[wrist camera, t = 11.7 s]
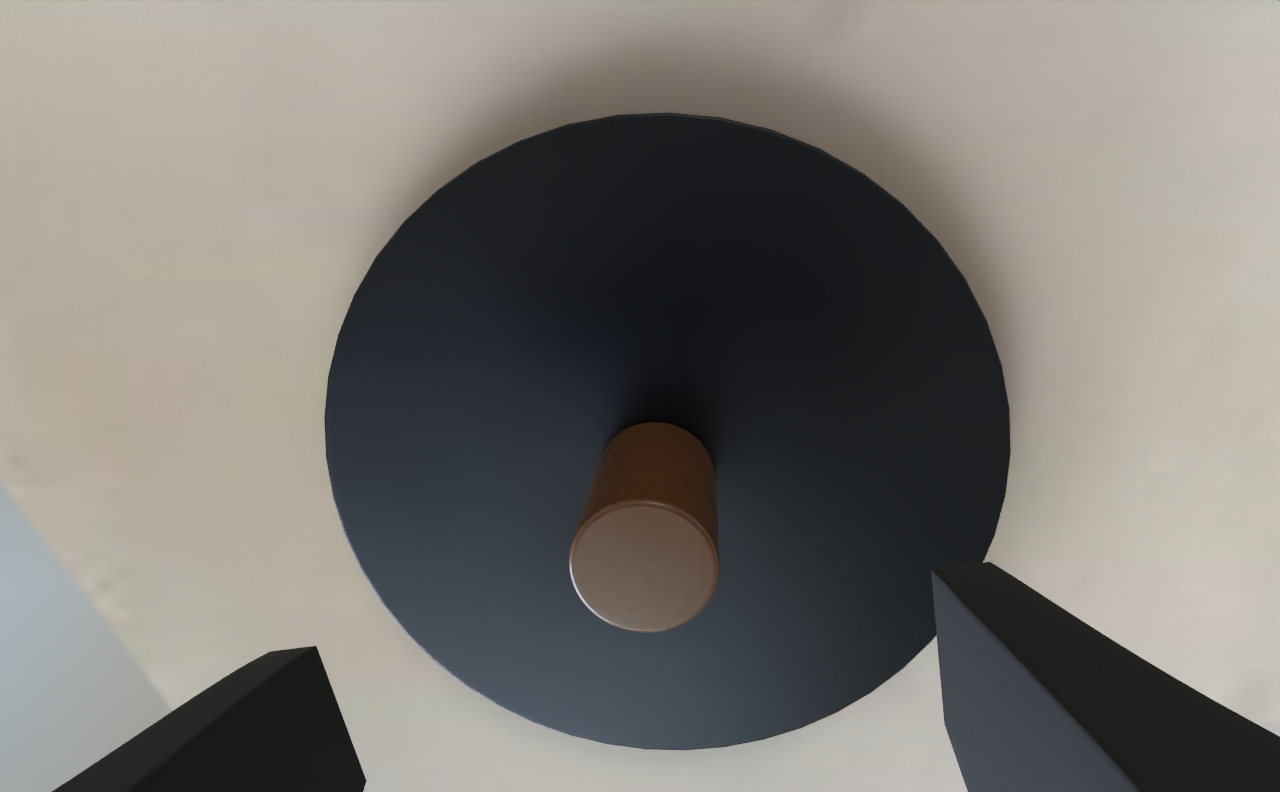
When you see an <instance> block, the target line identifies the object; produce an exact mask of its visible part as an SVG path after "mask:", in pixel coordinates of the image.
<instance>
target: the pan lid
mask: <svg viewBox="0 0 1280 792" xmlns="http://www.w3.org/2000/svg"><path fill="white" fill-rule="evenodd" d="M325 439H326V459H327V464H328V470H329V475H330V481H331V487H332V492H333V497H334V500H335V504H336V507H337V510H338V513H339V516H340V519H341V522H342V526H343V529H344V532H345V535H346V537H347V539H348V541H349V543H350V546H351V548H352V550H353V552H354V554H355V556H356V558H357V561H358V563H359V565H360V567H361V569H362V571H363V573H364V574H365V576H366V577H367V579H368V581H369V582H370V584H371V585H372V587H373V589H374V590H375V592H376V593H377V595H378V597H379V598H380V600H381V601H382V603H383V604H384V606H385V607H386V608H387V609H388V610H389V612H390V613H391V614H392V615H393V617H394V618H395V619H396V620H397V622H398V623H399V624H400V625H401V627H402V628H403V629H404V630H405V632H406V633H407V634H408V635H409V636H410V637H411V638H412V639H413V640H414V641H415V642H416V643H417V644H418V645H419V646H420V647H421V648H422V649H423V650H424V651H425V652H426V653H427V654H428V655H429V656H430V657H431V658H432V659H433V660H434V661H436V662H437V663H438V664H439V665H441V666H442V667H443V668H445V669H446V670H447V671H448V672H450V673H451V674H452V675H454V676H455V677H456V678H457V679H459V680H460V681H461V682H462V683H464V684H465V685H467V686H468V687H470V688H471V689H473V690H475V691H476V692H478V693H479V694H481V695H483V696H484V697H486V698H488V699H489V700H491V701H492V702H494V703H496V704H497V705H499V706H501V707H503V708H505V709H507V710H509V711H512V712H514V713H516V714H518V715H520V716H522V717H524V718H526V719H528V720H530V721H532V722H535V723H538V724H541V725H543V726H546V727H549V728H552V729H555V730H557V731H560V732H563V733H566V734H569V735H572V736H576V737H581V738H585V739H589V740H593V741H597V742H601V743H606V744H612V745H619V746H627V747H634V748H642V749H663V750H693V749H705V748H717V747H727V746H732V745H737V744H742V743H748V742H753V741H758V740H763V739H766V738H770V737H773V736H776V735H780V734H783V733H786V732H789V731H793V730H796V729H799V728H802V727H804V726H806V725H809V724H811V723H813V722H816V721H818V720H820V719H822V718H825V717H827V716H829V715H832V714H834V713H836V712H838V711H840V710H842V709H843V708H845V707H847V706H848V705H850V704H852V703H854V702H855V701H857V700H859V699H861V698H862V697H864V696H866V695H867V694H869V693H871V692H872V691H874V690H875V689H876V688H878V687H879V686H880V685H882V684H883V683H884V682H886V681H887V680H888V679H890V678H891V677H892V676H893V675H895V674H896V673H897V672H899V671H900V670H901V669H903V668H904V667H905V666H906V665H907V664H908V663H909V662H910V661H911V660H912V659H913V658H914V657H915V656H916V655H917V654H918V653H919V652H920V651H921V650H922V649H923V648H925V647H926V646H927V645H928V644H929V643H930V642H931V641H932V640H933V638H934V637H935V636H936V635H937V631H936V619H935V608H934V597H933V585H932V574H931V569H937V568H945V567H953V566H961V565H969V564H977V563H983V561H984V559H985V556H986V554H987V552H988V549H989V547H990V545H991V542H992V540H993V538H994V535H995V532H996V528H997V524H998V520H999V517H1000V513H1001V509H1002V506H1003V502H1004V498H1005V494H1006V485H1007V477H1008V469H1009V460H1010V415H1009V404H1008V398H1007V392H1006V387H1005V381H1004V375H1003V370H1002V364H1001V361H1000V358H999V355H998V352H997V349H996V346H995V343H994V340H993V337H992V334H991V331H990V329H989V326H988V323H987V320H986V318H985V316H984V314H983V312H982V310H981V308H980V306H979V304H978V302H977V300H976V299H975V297H974V295H973V293H972V291H971V289H970V287H969V285H968V283H967V281H966V279H965V278H964V276H963V275H962V273H961V272H960V271H959V269H958V268H957V266H956V265H955V264H954V262H953V261H952V259H951V258H950V257H949V255H948V254H947V252H946V251H945V250H944V248H943V247H942V245H941V244H940V243H939V241H938V240H937V239H936V238H935V237H934V236H933V235H932V234H931V233H930V232H929V231H928V229H927V228H926V227H925V226H924V225H923V224H922V223H921V222H920V221H919V220H918V219H917V218H916V217H915V216H914V215H913V214H912V213H911V212H910V211H909V210H908V209H907V208H906V207H905V206H904V205H903V204H902V203H901V202H900V201H898V200H897V199H896V198H894V197H893V196H892V195H891V194H889V193H888V192H887V191H885V190H884V189H883V188H882V187H880V186H879V185H878V184H876V183H875V182H874V181H872V180H871V179H870V178H869V177H867V176H866V175H865V174H863V173H862V172H860V171H858V170H856V169H855V168H853V167H851V166H849V165H848V164H846V163H844V162H842V161H840V160H839V159H837V158H835V157H833V156H832V155H830V154H828V153H826V152H825V151H823V150H821V149H819V148H817V147H814V146H812V145H809V144H807V143H804V142H802V141H799V140H796V139H794V138H791V137H789V136H786V135H784V134H781V133H779V132H776V131H774V130H771V129H767V128H763V127H758V126H754V125H750V124H746V123H742V122H737V121H733V120H729V119H725V118H721V117H710V116H700V115H689V114H679V113H649V114H627V115H615V116H609V117H604V118H599V119H593V120H588V121H583V122H577V123H572V124H567V125H564V126H561V127H558V128H555V129H552V130H549V131H547V132H544V133H541V134H538V135H535V136H532V137H529V138H526V139H523V140H520V141H518V142H516V143H514V144H512V145H510V146H508V147H506V148H504V149H502V150H500V151H498V152H496V153H494V154H492V155H490V156H489V157H487V158H485V159H483V160H481V161H479V162H477V163H475V164H474V165H472V166H471V167H470V168H468V169H467V170H465V171H464V172H462V173H461V174H460V175H458V176H457V177H455V178H454V179H453V180H451V181H450V182H448V183H447V184H445V185H444V186H443V187H441V188H440V189H438V190H437V191H436V192H435V193H434V194H433V195H432V196H431V197H430V198H429V199H428V200H427V201H425V202H424V203H423V204H422V205H421V206H420V207H419V208H418V209H417V210H416V211H415V212H414V213H413V214H412V215H411V216H410V217H408V218H407V219H406V220H405V221H404V222H403V224H402V225H401V226H400V228H399V229H398V230H397V231H396V233H395V234H394V235H393V236H392V238H391V239H390V240H389V241H388V243H387V244H386V245H385V246H384V248H383V249H382V250H381V252H380V253H379V254H378V255H377V257H376V258H375V260H374V262H373V263H372V265H371V267H370V269H369V270H368V272H367V274H366V276H365V277H364V279H363V281H362V282H361V284H360V286H359V288H358V289H357V291H356V293H355V295H354V297H353V299H352V302H351V304H350V307H349V309H348V312H347V314H346V317H345V319H344V322H343V324H342V327H341V329H340V332H339V334H338V339H337V343H336V347H335V351H334V355H333V359H332V363H331V368H330V372H329V376H328V386H327V397H326V407H325Z"/></svg>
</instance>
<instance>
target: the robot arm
mask: <svg viewBox="0 0 1280 792" xmlns="http://www.w3.org/2000/svg"><path fill="white" fill-rule="evenodd" d="M931 574H932V585H933V597H934V608H935V619H936V631H937V642H938V653H939V665H940V676H941V688H942V699H943V710H944V722H945V726H946V729H947V732H948V735H949V738H950V741H951V744H952V747H953V750H954V752H955V755H956V758H957V761H958V764H959V767H960V770H961V773H962V776H963V779H964V781H965V784H966V787H967V790H968V792H1280V737H1279V736H1277V735H1275V734H1274V733H1272V732H1270V731H1268V730H1266V729H1264V728H1263V727H1261V726H1259V725H1257V724H1255V723H1254V722H1252V721H1250V720H1248V719H1246V718H1244V717H1243V716H1241V715H1239V714H1237V713H1235V712H1233V711H1232V710H1230V709H1228V708H1226V707H1224V706H1223V705H1221V704H1219V703H1217V702H1215V701H1213V700H1212V699H1210V698H1208V697H1206V696H1205V695H1203V694H1201V693H1200V692H1198V691H1196V690H1194V689H1193V688H1191V687H1189V686H1187V685H1186V684H1184V683H1182V682H1181V681H1179V680H1177V679H1175V678H1174V677H1172V676H1170V675H1169V674H1167V673H1165V672H1164V671H1162V670H1160V669H1159V668H1157V667H1155V666H1154V665H1152V664H1150V663H1149V662H1147V661H1145V660H1144V659H1142V658H1140V657H1139V656H1137V655H1135V654H1134V653H1132V652H1131V651H1129V650H1127V649H1126V648H1124V647H1122V646H1121V645H1119V644H1118V643H1116V642H1114V641H1113V640H1111V639H1110V638H1108V637H1106V636H1105V635H1103V634H1102V633H1100V632H1098V631H1097V630H1095V629H1094V628H1092V627H1091V626H1089V625H1087V624H1086V623H1084V622H1083V621H1081V620H1080V619H1078V618H1076V617H1075V616H1073V615H1072V614H1070V613H1069V612H1067V611H1066V610H1064V609H1063V608H1061V607H1059V606H1058V605H1056V604H1055V603H1053V602H1052V601H1050V600H1049V599H1047V598H1046V597H1044V596H1042V595H1041V594H1039V593H1038V592H1036V591H1035V590H1033V589H1032V588H1030V587H1029V586H1027V585H1026V584H1024V583H1023V582H1021V581H1019V580H1018V579H1016V578H1015V577H1013V576H1012V575H1010V574H1009V573H1007V572H1005V571H1004V570H1002V569H1001V568H999V567H997V566H996V565H994V564H992V563H991V562H986V563H977V564H969V565H961V566H953V567H945V568H937V569H931ZM365 784H366V779H365V776H364V774H363V771H362V768H361V765H360V763H359V760H358V757H357V755H356V752H355V749H354V747H353V744H352V741H351V739H350V736H349V733H348V730H347V728H346V725H345V722H344V720H343V717H342V714H341V712H340V709H339V706H338V703H337V701H336V698H335V695H334V693H333V690H332V687H331V685H330V682H329V679H328V677H327V674H326V671H325V668H324V666H323V663H322V660H321V658H320V655H319V652H318V650H317V647H316V646H312V647H304V648H296V649H288V650H280V651H272V652H269V653H267V654H265V655H263V656H261V657H259V658H257V659H255V660H254V661H252V662H250V663H248V664H246V665H245V666H243V667H241V668H240V669H238V670H236V671H235V672H233V673H231V674H230V675H228V676H226V677H225V678H223V679H222V680H220V681H218V682H217V683H215V684H214V685H212V686H211V687H209V688H207V689H206V690H204V691H203V692H201V693H200V694H198V695H197V696H195V697H194V698H192V699H191V700H189V701H188V702H186V703H184V704H183V705H181V706H180V707H178V708H177V709H175V710H174V711H172V712H171V713H169V714H168V715H166V716H165V717H163V718H162V719H161V720H159V721H157V722H156V723H154V724H153V725H151V726H150V727H149V728H147V729H146V730H144V731H143V732H141V733H140V734H138V735H137V736H135V737H134V738H132V739H131V740H129V741H128V742H126V743H125V744H123V745H122V746H120V747H119V748H117V749H116V750H114V751H113V752H111V753H110V754H108V755H107V756H105V757H104V758H102V759H101V760H99V761H98V762H97V763H95V764H93V765H92V766H90V767H89V768H87V769H86V770H84V771H83V772H81V773H80V774H78V775H77V776H76V777H74V778H72V779H71V780H69V781H68V782H66V783H65V784H63V785H61V786H60V787H58V788H57V789H55V790H54V791H52V792H363V790H364V787H365Z"/></svg>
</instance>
